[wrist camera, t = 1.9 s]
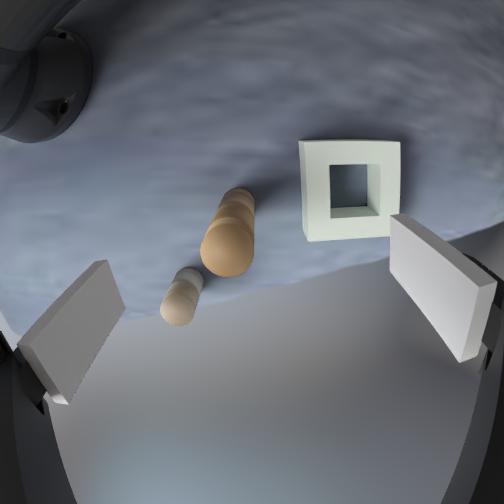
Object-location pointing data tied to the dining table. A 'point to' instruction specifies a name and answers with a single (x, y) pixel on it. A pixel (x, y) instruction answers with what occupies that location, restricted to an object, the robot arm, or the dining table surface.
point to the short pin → (182, 297)
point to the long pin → (230, 235)
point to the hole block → (378, 188)
